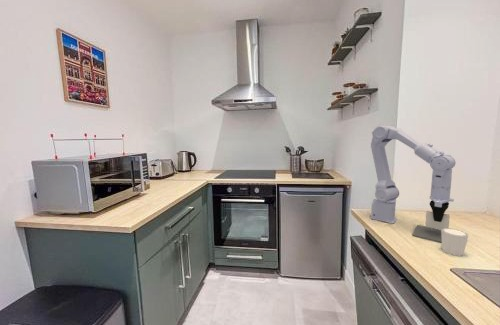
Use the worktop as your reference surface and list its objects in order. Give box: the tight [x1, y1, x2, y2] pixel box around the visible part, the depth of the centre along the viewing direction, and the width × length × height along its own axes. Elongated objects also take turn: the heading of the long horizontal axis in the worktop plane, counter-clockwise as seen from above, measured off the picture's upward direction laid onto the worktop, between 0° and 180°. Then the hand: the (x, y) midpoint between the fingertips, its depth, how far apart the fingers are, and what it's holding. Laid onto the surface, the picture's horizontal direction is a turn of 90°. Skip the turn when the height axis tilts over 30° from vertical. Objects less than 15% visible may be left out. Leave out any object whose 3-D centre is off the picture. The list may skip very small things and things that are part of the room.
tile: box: [425, 210, 451, 230], centre depth 89 cm, size 7×2×6 cm, turn 47°
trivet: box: [411, 224, 442, 244], centre depth 89 cm, size 13×13×1 cm
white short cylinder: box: [441, 227, 469, 257], centre depth 77 cm, size 7×7×7 cm
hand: (437, 220), depth 89 cm, fingers closed on tile, 2 cm apart
